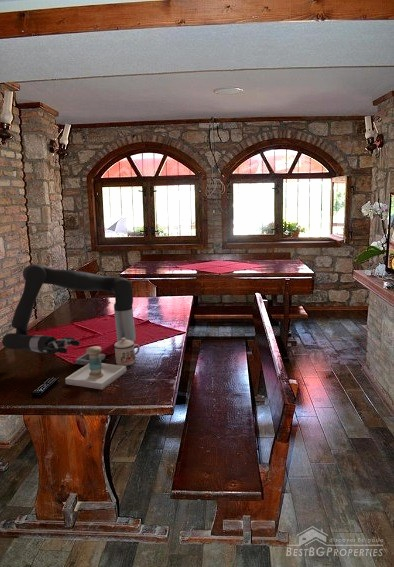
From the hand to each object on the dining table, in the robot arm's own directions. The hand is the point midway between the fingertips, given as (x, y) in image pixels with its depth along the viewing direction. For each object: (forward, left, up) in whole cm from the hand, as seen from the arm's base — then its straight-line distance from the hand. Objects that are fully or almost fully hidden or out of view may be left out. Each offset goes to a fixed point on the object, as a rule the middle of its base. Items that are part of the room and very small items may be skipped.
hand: (72, 346), depth 192 cm
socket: (-15, -3, -13) cm, 20 cm away
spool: (0, +11, -12) cm, 16 cm away
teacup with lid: (-19, +15, -13) cm, 27 cm away
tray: (0, +11, -13) cm, 17 cm away
